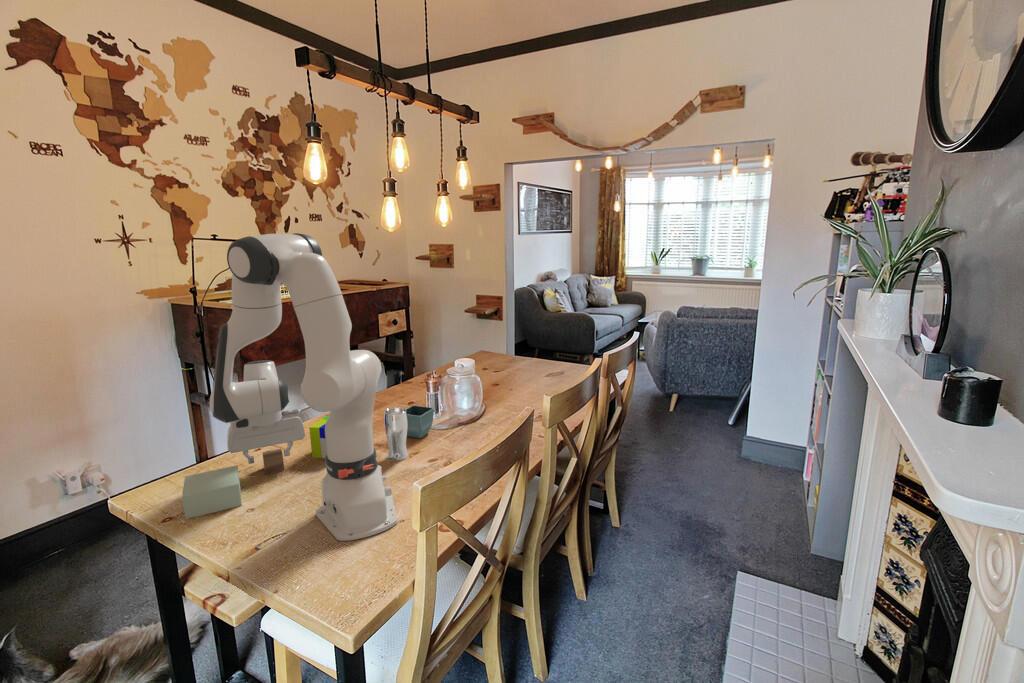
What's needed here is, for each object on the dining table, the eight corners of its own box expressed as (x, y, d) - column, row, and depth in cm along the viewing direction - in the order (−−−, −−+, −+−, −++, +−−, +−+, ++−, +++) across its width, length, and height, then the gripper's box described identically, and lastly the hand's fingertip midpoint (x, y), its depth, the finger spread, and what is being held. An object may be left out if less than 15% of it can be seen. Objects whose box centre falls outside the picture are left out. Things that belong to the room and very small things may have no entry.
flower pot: (399, 438, 165) (398, 413, 163) (414, 428, 173) (412, 404, 171) (421, 441, 162) (420, 416, 160) (435, 432, 170) (434, 407, 168)
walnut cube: (284, 470, 143) (282, 454, 142) (265, 474, 141) (263, 458, 139) (282, 464, 147) (280, 448, 146) (264, 467, 145) (262, 452, 144)
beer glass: (384, 454, 153) (381, 408, 150) (407, 450, 156) (404, 405, 153) (388, 463, 147) (385, 416, 144) (411, 458, 149) (409, 412, 146)
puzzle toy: (341, 459, 149) (338, 429, 147) (312, 457, 151) (309, 427, 149) (357, 446, 159) (355, 417, 157) (330, 444, 161) (327, 415, 159)
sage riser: (241, 505, 124) (238, 483, 123) (185, 519, 118) (181, 496, 117) (240, 485, 134) (237, 465, 133) (188, 497, 128) (185, 476, 127)
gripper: (301, 405, 148) (305, 447, 151) (223, 417, 137) (229, 462, 140) (305, 411, 143) (309, 455, 145) (224, 425, 132) (230, 471, 135)
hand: (269, 459), depth 143 cm, fingers open, 8 cm apart
